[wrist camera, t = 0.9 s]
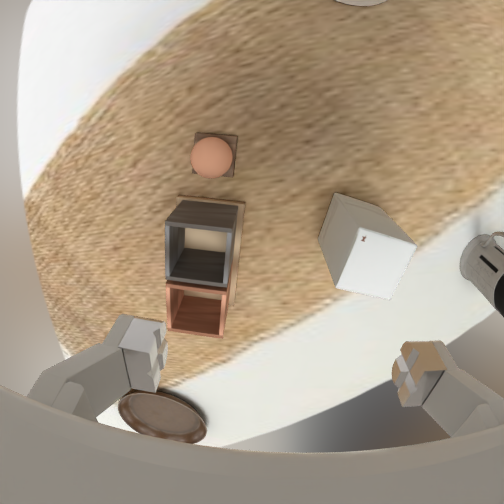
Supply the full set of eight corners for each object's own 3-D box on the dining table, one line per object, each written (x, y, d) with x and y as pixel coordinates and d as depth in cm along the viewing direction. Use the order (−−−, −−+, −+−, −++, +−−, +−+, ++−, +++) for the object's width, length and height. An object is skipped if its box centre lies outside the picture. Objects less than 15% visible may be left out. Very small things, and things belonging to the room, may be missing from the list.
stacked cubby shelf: (178, 195, 42) (158, 217, 34) (245, 202, 42) (240, 227, 34) (177, 294, 49) (162, 331, 41) (234, 302, 49) (228, 340, 41)
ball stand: (196, 132, 38) (195, 133, 37) (237, 136, 38) (236, 136, 37) (193, 171, 40) (192, 173, 39) (233, 175, 40) (232, 177, 40)
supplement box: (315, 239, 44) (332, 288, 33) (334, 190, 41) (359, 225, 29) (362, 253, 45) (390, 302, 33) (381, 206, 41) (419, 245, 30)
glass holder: (463, 288, 47) (505, 342, 33) (448, 220, 42) (504, 267, 28) (499, 266, 44) (545, 312, 31) (488, 197, 39) (548, 235, 26)
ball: (196, 133, 38) (187, 137, 33) (236, 137, 38) (232, 141, 33) (194, 171, 40) (184, 180, 35) (232, 175, 40) (227, 184, 36)
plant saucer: (111, 408, 65) (107, 418, 62) (139, 369, 58) (135, 380, 55) (183, 443, 70) (181, 453, 67) (226, 412, 62) (224, 424, 59)
